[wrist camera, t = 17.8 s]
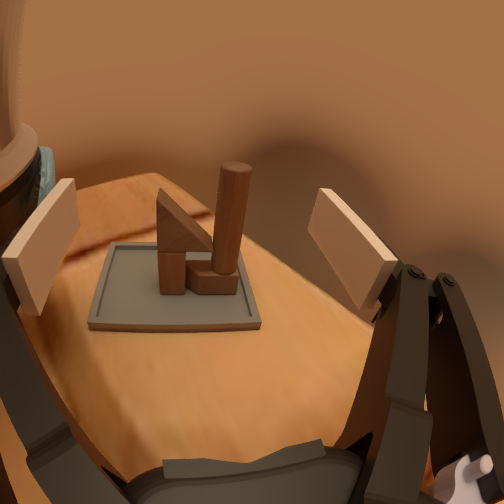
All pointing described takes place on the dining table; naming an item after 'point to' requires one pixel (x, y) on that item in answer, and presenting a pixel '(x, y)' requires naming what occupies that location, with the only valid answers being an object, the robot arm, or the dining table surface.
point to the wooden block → (203, 238)
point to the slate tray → (164, 297)
